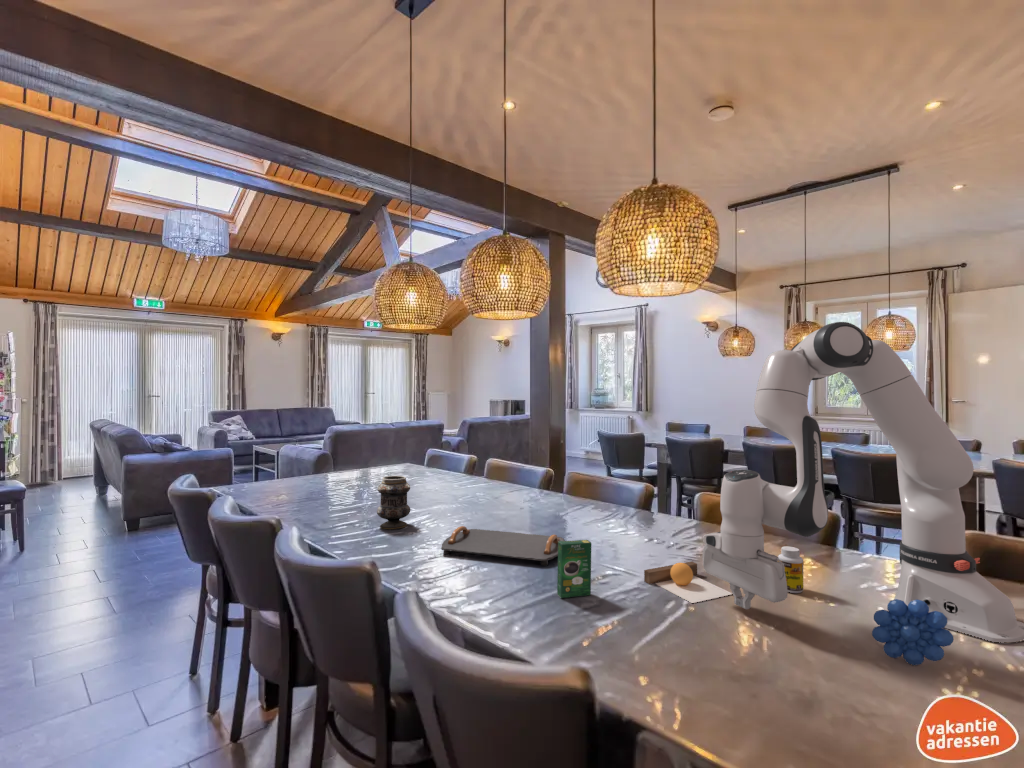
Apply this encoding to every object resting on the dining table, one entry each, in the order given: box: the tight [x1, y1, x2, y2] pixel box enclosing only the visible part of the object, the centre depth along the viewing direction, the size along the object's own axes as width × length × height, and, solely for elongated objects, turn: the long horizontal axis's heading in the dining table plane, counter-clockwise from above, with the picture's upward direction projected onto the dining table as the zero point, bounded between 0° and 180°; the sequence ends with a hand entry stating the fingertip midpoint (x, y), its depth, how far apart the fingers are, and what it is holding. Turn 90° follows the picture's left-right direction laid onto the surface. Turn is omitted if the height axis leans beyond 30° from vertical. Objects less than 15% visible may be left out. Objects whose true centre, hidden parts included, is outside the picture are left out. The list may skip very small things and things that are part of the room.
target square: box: [654, 575, 733, 604], centre depth 125 cm, size 13×13×1 cm
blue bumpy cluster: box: [871, 599, 955, 666], centre depth 91 cm, size 12×7×12 cm, turn 47°
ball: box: [670, 562, 693, 586], centre depth 128 cm, size 6×6×6 cm
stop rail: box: [643, 561, 698, 585], centre depth 132 cm, size 2×16×3 cm, turn 113°
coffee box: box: [556, 539, 592, 599], centre depth 122 cm, size 8×3×13 cm, turn 104°
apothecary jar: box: [376, 475, 411, 530], centre depth 185 cm, size 12×12×18 cm
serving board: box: [440, 525, 566, 567], centre depth 157 cm, size 39×23×6 cm, turn 71°
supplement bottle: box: [777, 545, 804, 594], centre depth 125 cm, size 6×6×10 cm
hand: (742, 606), depth 111 cm, fingers closed
